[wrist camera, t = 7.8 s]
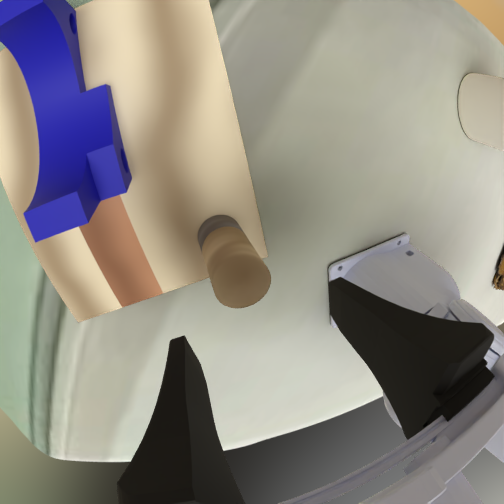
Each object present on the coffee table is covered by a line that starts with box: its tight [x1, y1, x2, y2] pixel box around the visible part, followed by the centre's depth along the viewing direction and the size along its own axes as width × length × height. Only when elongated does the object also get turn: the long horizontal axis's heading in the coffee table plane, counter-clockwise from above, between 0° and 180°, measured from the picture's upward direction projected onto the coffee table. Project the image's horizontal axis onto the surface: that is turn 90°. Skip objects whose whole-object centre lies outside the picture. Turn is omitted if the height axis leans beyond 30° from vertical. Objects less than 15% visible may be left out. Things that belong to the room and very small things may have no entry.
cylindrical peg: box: [198, 215, 271, 308], centre depth 17 cm, size 3×3×6 cm
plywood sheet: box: [0, 0, 268, 322], centre depth 15 cm, size 16×21×1 cm
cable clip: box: [0, 0, 132, 243], centre depth 10 cm, size 12×4×6 cm, turn 8°
